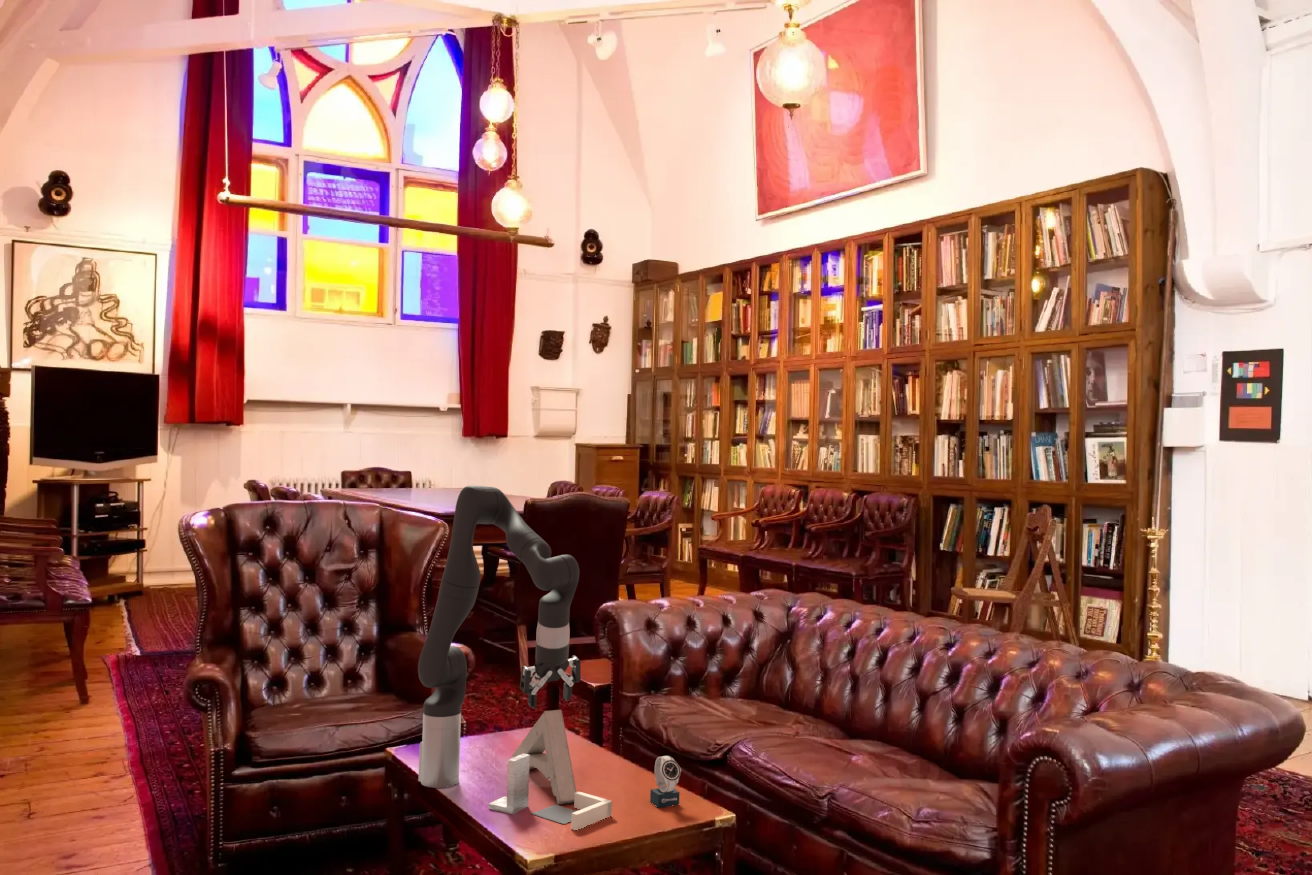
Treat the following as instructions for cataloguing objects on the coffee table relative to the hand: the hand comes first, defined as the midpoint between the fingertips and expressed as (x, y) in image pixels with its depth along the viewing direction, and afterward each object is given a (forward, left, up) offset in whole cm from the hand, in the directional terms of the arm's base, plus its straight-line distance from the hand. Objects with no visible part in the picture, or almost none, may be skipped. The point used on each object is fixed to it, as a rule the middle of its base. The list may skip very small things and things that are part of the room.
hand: (549, 703), depth 233 cm
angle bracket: (-7, -5, -24) cm, 26 cm away
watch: (+19, +21, -24) cm, 37 cm away
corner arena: (+10, 0, -24) cm, 26 cm away
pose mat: (+5, -1, -24) cm, 25 cm away
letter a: (-14, +14, -25) cm, 32 cm away
